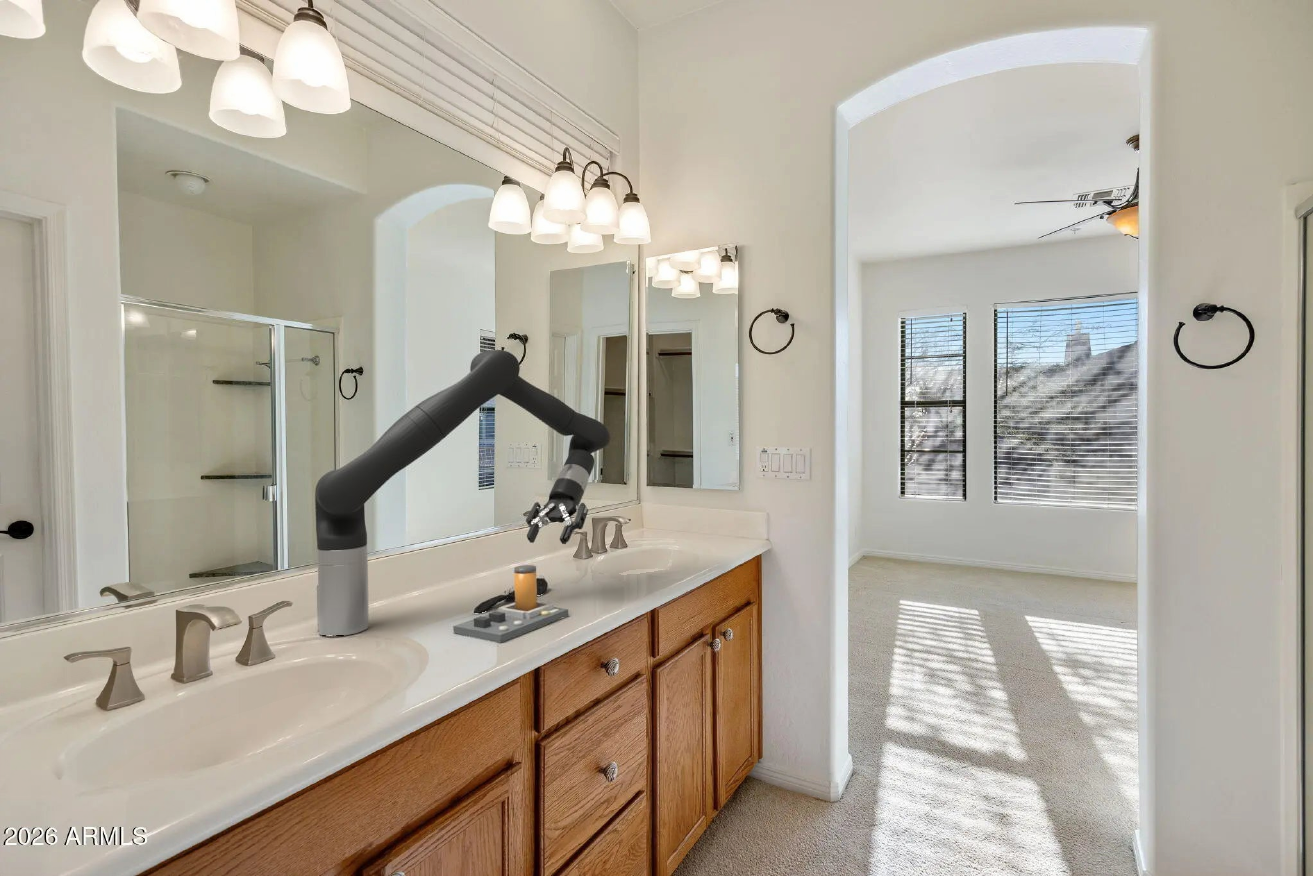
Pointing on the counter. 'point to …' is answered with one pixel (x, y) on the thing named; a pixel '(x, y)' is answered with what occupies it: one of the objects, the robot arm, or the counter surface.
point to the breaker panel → (510, 622)
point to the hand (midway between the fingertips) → (546, 541)
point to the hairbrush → (509, 596)
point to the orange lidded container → (525, 587)
